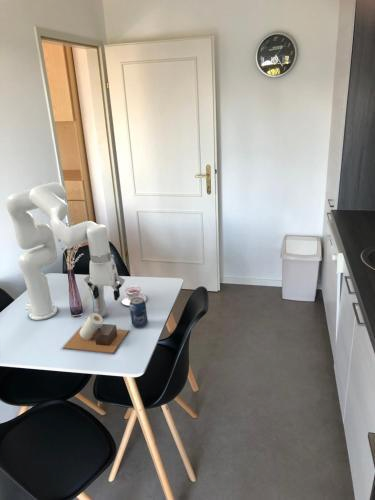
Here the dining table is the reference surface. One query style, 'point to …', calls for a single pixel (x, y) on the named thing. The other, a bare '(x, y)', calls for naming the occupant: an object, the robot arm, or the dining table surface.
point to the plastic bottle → (99, 302)
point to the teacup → (132, 294)
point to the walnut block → (105, 334)
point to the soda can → (138, 312)
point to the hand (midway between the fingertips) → (106, 297)
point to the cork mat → (94, 343)
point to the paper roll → (91, 326)
